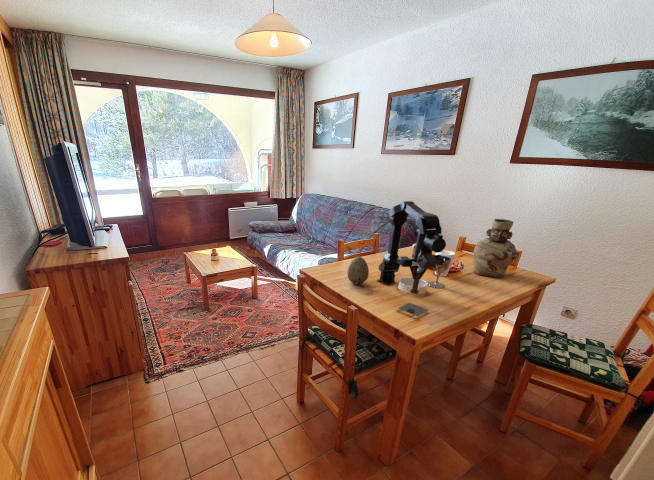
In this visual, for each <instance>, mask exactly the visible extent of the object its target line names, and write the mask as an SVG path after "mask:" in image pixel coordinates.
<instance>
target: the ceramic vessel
mask: <svg viewBox="0 0 654 480" xmlns="http://www.w3.org/2000/svg"><path fill="white" fill-rule="evenodd" d="M513 225H514V220H510V219H503V218H494V219H493V220H492V224H491V228H488V229H487V230H486V233H485V234H486V236H487V237H486V238H483V239H481V240H479V241H478V242H477V244H476V245H475V247H474V249H473V268H474V269H473V271H474V273H475V274H476V275H478V276H481V277H490V278H496V279H500V278H503V276H504V275H505V274H506V272H507V269H508V268H509V266H510V265H512V264H513V261H514V262H517V261H518V260H519V255H520V253H519V252H518V251H517V247H516V245H515V244H514V243H513V242H512V241H511V239H512V238H513V232H512V231H511V229H512V227H513Z"/></svg>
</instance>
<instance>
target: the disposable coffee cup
mask: <svg viewBox="0 0 654 480" xmlns="http://www.w3.org/2000/svg"><path fill="white" fill-rule="evenodd" d="M414 246H416V242H415V243H413V244H412V245H411V247H412V255H414V253H415V248H414ZM412 255H411V259H413V257H412ZM418 266H419V263H418Z"/></svg>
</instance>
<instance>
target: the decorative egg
mask: <svg viewBox="0 0 654 480" xmlns="http://www.w3.org/2000/svg"><path fill="white" fill-rule="evenodd" d="M369 271H370V270H369V265H368V263H367V261H366V260H365V258H363V257H362V256H356V257H354V258H353V259H352V260H351V261H350V263H349V265H348V267H347V274H346V275H347V278H348V280H349V281H350V282H351V283H352V284H353V285H356V286H359V285H362V284H364V283H365V282H366V281H368V278H369V274H370V272H369Z"/></svg>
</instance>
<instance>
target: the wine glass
mask: <svg viewBox="0 0 654 480" xmlns="http://www.w3.org/2000/svg"><path fill="white" fill-rule="evenodd" d="M442 258H443V259H444V263H443V265H436V266H435V267H432V269H433V271H434V273H435V272H436V274H437V275H436V274H435V275H436V280H435V282H429V283H428V287H431V288H435V289H442V288H444V287H445V286H444V285H443V284H442V283H439V278H440V277H441V276H440V275H441V274H442V273H443V272H444V271H446V270H447V269H448V267H449V264H450V260H451V259H450V258H449V257H446V256H442Z"/></svg>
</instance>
